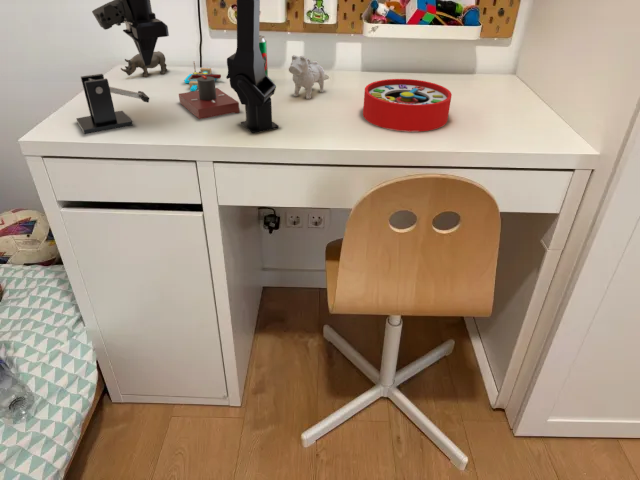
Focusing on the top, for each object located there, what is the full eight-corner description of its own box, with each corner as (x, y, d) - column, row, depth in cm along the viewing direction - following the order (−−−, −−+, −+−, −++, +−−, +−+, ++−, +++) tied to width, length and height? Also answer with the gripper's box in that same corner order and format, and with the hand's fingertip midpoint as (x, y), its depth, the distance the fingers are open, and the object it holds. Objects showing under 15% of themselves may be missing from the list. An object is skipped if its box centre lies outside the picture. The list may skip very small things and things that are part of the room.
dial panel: (239, 112, 116) (238, 101, 115) (199, 120, 112) (197, 108, 110) (217, 97, 125) (216, 86, 124) (180, 103, 121) (178, 93, 119)
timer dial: (219, 98, 117) (217, 78, 114) (203, 101, 115) (200, 80, 112) (212, 94, 120) (210, 74, 117) (196, 96, 118) (194, 76, 115)
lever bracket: (123, 115, 114) (113, 70, 108) (133, 126, 108) (123, 79, 102) (77, 123, 109) (64, 76, 103) (85, 135, 103) (72, 86, 98)
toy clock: (349, 95, 110) (385, 74, 125) (348, 120, 114) (383, 97, 128) (434, 111, 102) (463, 87, 116) (430, 138, 105) (458, 111, 120)
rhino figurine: (119, 77, 138) (115, 55, 135) (165, 69, 146) (162, 48, 142) (125, 81, 136) (120, 58, 132) (171, 72, 143) (168, 51, 140)
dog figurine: (284, 100, 125) (282, 56, 119) (309, 87, 134) (309, 46, 128) (301, 103, 123) (301, 59, 117) (326, 90, 132) (327, 48, 126)
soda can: (269, 80, 139) (267, 35, 132) (266, 85, 135) (264, 39, 128) (252, 79, 139) (249, 34, 132) (248, 84, 135) (245, 38, 128)
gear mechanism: (227, 72, 145) (195, 71, 145) (225, 53, 142) (193, 52, 142) (213, 93, 128) (177, 92, 128) (211, 72, 125) (174, 71, 125)
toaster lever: (141, 99, 113) (143, 89, 112) (148, 105, 109) (150, 95, 108) (85, 87, 105) (87, 76, 104) (90, 93, 102) (92, 82, 101)
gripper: (80, -18, 101) (98, 60, 110) (101, -6, 88) (120, 81, 97) (135, -21, 106) (148, 54, 115) (162, -10, 93) (175, 73, 102)
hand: (147, 65), depth 107 cm, fingers closed
